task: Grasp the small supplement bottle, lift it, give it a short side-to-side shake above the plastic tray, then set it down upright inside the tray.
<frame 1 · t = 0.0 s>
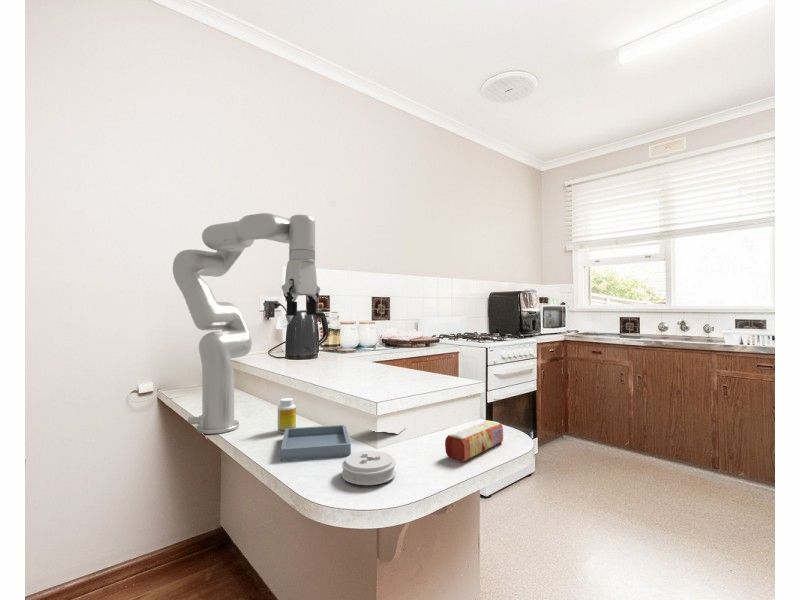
hand: (302, 315, 121), 37 cm above the table, tool pointing down, fingers open, 9 cm apart
supplement bottle: (286, 432, 130), on the table
snack package: (475, 451, 113), on the table
tray: (316, 446, 116), on the table
lid: (369, 478, 96), on the table
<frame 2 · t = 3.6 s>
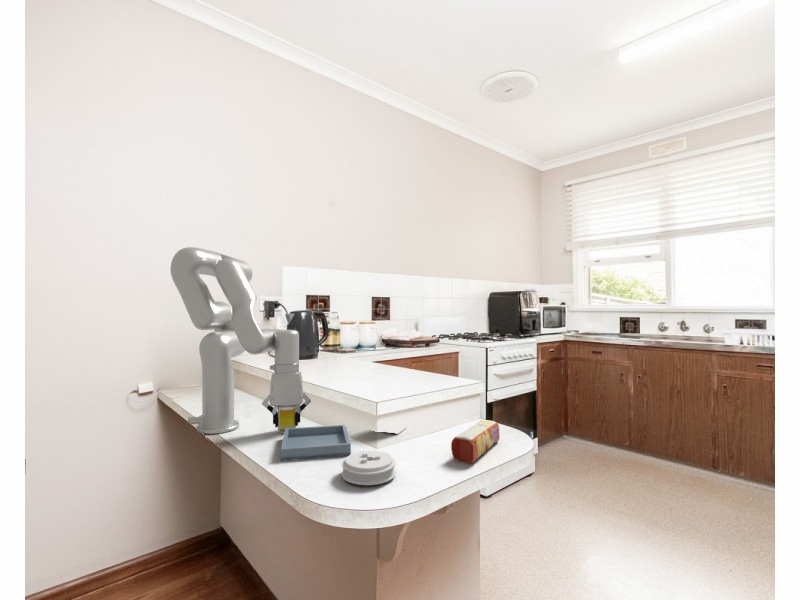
hand: (286, 424, 130), 2 cm above the table, tool pointing down, fingers closed on supplement bottle, 5 cm apart
supplement bottle: (286, 432, 130), on the table, touching gripper
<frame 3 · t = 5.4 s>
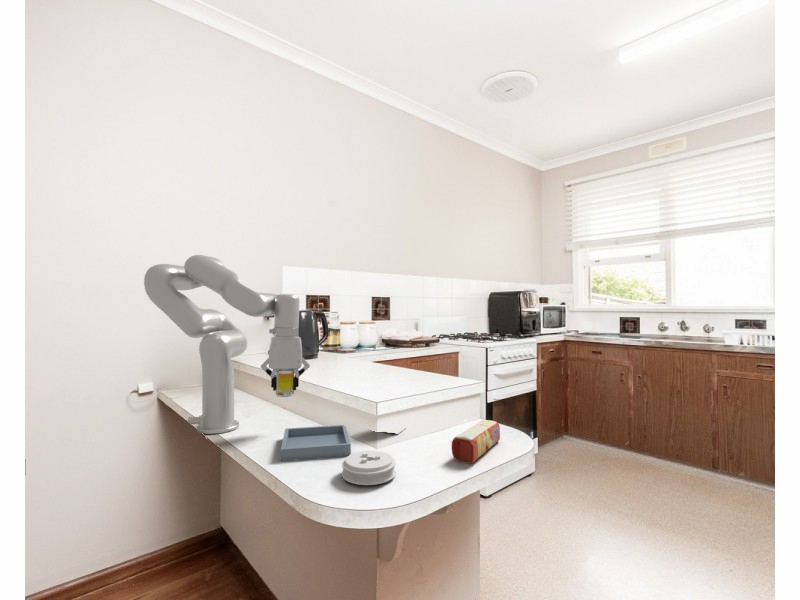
hand: (284, 389, 130), 13 cm above the table, tool pointing down, fingers closed on supplement bottle, 5 cm apart
supplement bottle: (284, 396, 130), point 11 cm above the table, touching gripper
everything else where it was.
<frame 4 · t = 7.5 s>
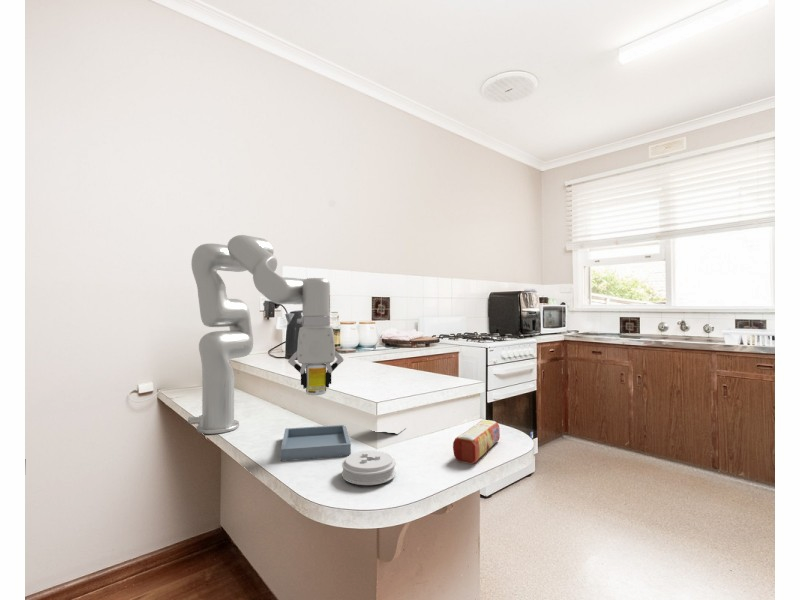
hand: (316, 386, 114), 18 cm above the table, tool pointing down, fingers closed on supplement bottle, 5 cm apart
supplement bottle: (316, 394, 114), point 15 cm above the table, touching gripper
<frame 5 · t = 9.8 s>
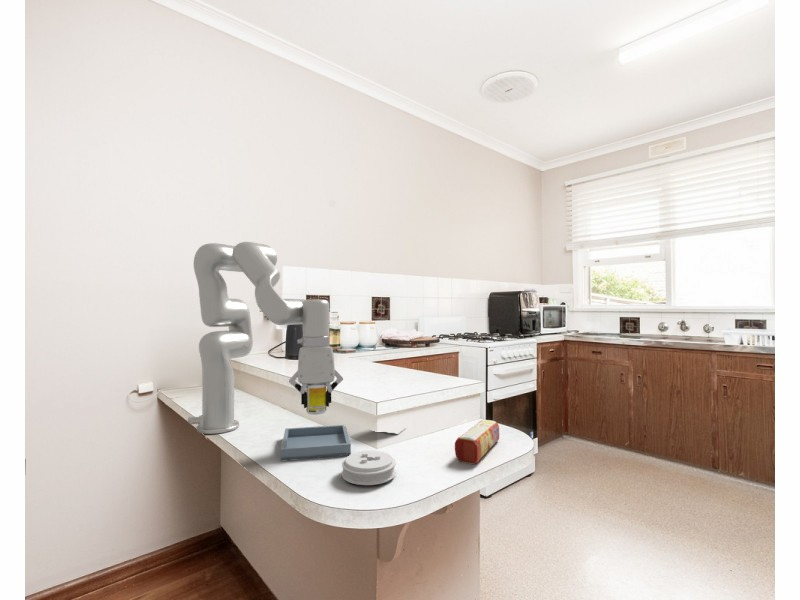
hand: (316, 405, 116), 12 cm above the table, tool pointing down, fingers closed on supplement bottle, 5 cm apart
supplement bottle: (316, 413, 116), point 9 cm above the table, touching gripper
when the fingers open (4 cm above the table, at t = 11.5 s): supplement bottle drops 1 cm, resting on tray.
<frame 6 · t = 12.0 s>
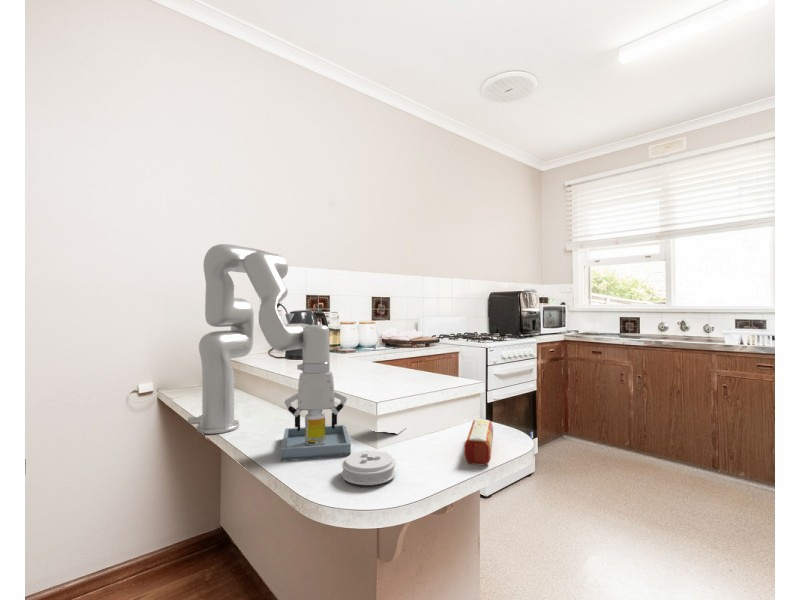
hand: (316, 428, 116), 5 cm above the table, tool pointing down, fingers open, 9 cm apart
supplement bottle: (315, 444, 116), point 1 cm above the table, touching tray
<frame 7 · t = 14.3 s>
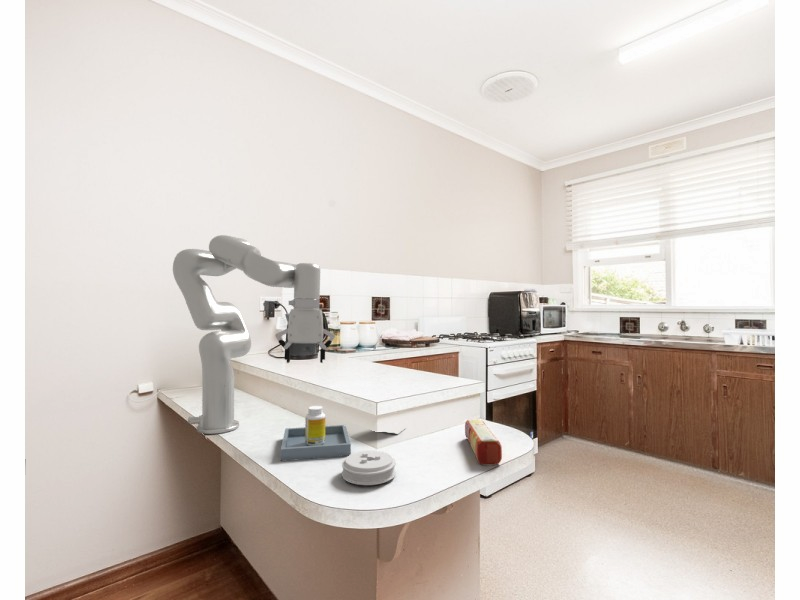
hand: (304, 362, 122), 23 cm above the table, tool pointing down, fingers open, 9 cm apart
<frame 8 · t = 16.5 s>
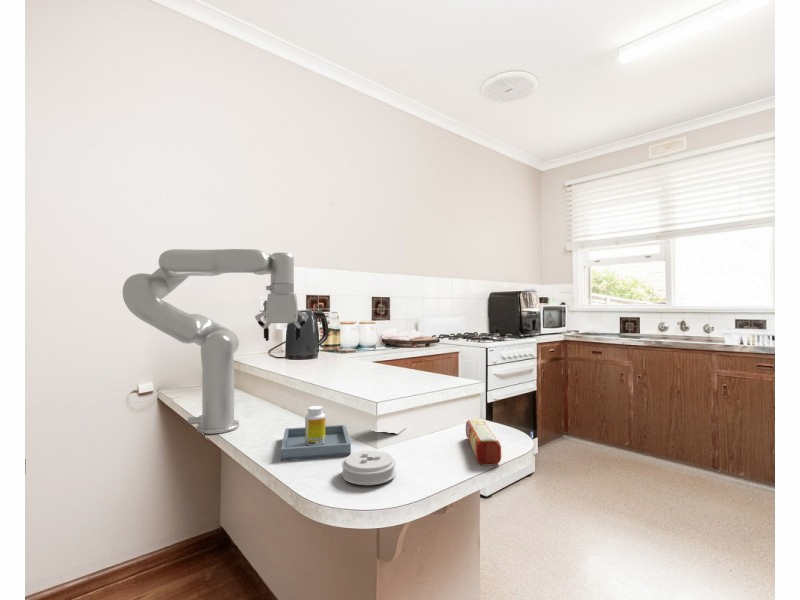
hand: (282, 340, 137), 28 cm above the table, tool pointing down, fingers open, 9 cm apart
at the end: supplement bottle inside the target area on the tray (0.3 cm from its centre), point 0.6 cm above the tray's base; supplement bottle tilted 0°; the gripper is holding nothing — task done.
